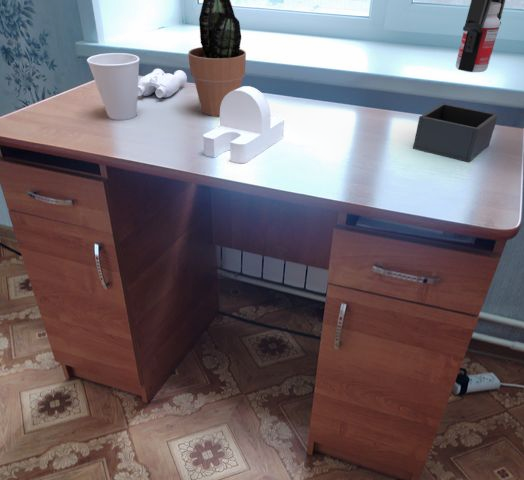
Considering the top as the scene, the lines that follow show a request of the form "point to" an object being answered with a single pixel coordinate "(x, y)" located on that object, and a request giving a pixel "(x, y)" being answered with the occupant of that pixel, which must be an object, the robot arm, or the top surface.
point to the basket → (454, 131)
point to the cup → (117, 83)
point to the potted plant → (217, 55)
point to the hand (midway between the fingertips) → (471, 66)
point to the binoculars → (161, 83)
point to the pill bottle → (484, 39)
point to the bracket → (243, 126)
